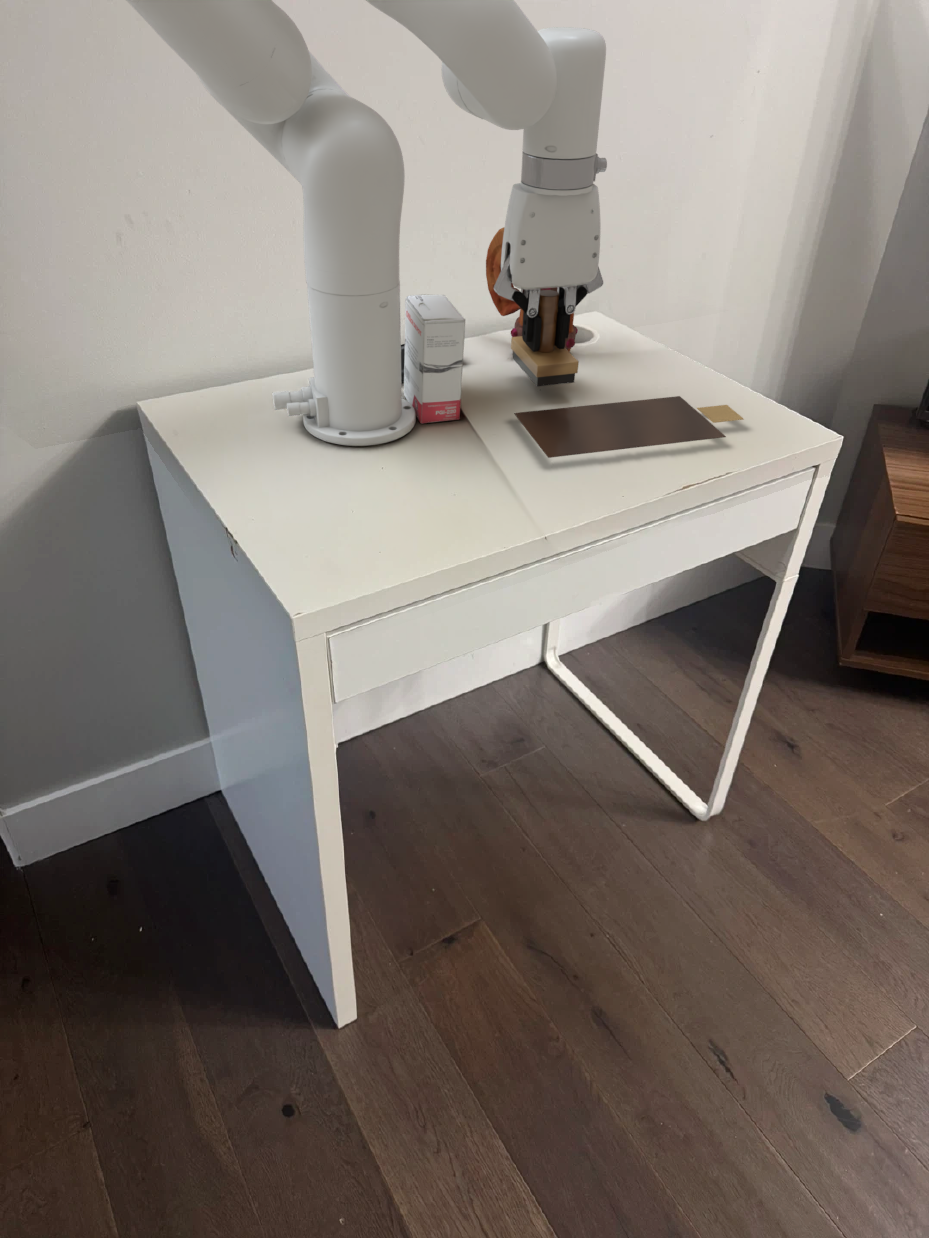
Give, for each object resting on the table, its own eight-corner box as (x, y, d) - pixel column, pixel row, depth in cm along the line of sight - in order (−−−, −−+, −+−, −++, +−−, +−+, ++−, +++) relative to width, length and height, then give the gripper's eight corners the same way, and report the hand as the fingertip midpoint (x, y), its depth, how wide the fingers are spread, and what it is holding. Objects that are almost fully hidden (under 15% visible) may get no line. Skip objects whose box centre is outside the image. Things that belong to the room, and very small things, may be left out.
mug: (590, 359, 116) (604, 239, 107) (551, 376, 111) (562, 252, 102) (507, 329, 124) (513, 216, 115) (467, 344, 119) (471, 226, 110)
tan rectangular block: (711, 432, 100) (713, 422, 99) (694, 417, 103) (696, 407, 102) (742, 428, 101) (744, 419, 100) (724, 414, 104) (726, 404, 103)
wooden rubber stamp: (536, 387, 100) (541, 308, 94) (510, 358, 107) (514, 282, 101) (576, 383, 101) (584, 304, 95) (548, 354, 108) (554, 279, 102)
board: (547, 467, 92) (548, 457, 92) (513, 422, 101) (513, 412, 100) (724, 446, 97) (726, 436, 97) (678, 405, 106) (679, 395, 105)
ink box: (463, 421, 101) (466, 317, 93) (420, 425, 99) (420, 320, 92) (442, 390, 107) (444, 291, 100) (402, 394, 106) (401, 294, 98)
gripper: (614, 161, 95) (595, 329, 107) (472, 168, 92) (468, 341, 103) (644, 176, 90) (621, 352, 101) (494, 184, 86) (488, 365, 97)
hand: (544, 345), depth 102 cm, fingers closed on wooden rubber stamp, 2 cm apart
